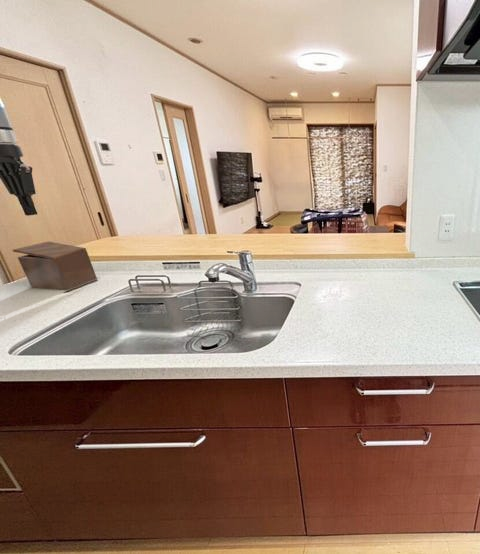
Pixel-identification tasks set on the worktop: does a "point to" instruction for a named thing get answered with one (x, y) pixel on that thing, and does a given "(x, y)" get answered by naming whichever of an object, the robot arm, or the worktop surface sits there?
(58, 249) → the chest lid
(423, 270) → the worktop surface
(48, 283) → the chest
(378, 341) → the worktop surface
